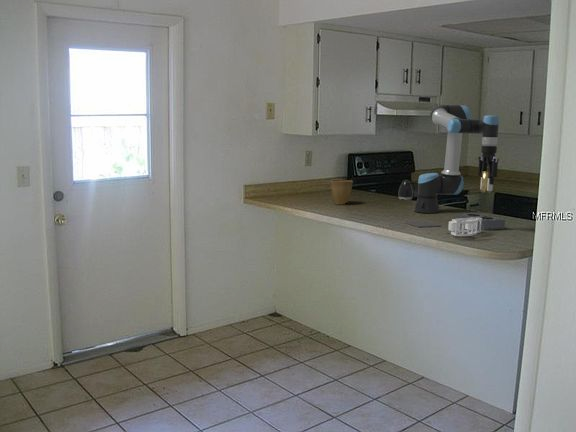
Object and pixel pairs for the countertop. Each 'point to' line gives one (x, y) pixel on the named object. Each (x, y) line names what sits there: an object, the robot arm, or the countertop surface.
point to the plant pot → (341, 190)
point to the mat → (423, 224)
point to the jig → (485, 221)
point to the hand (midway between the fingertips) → (486, 190)
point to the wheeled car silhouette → (468, 223)
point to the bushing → (485, 182)
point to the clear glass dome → (405, 190)
